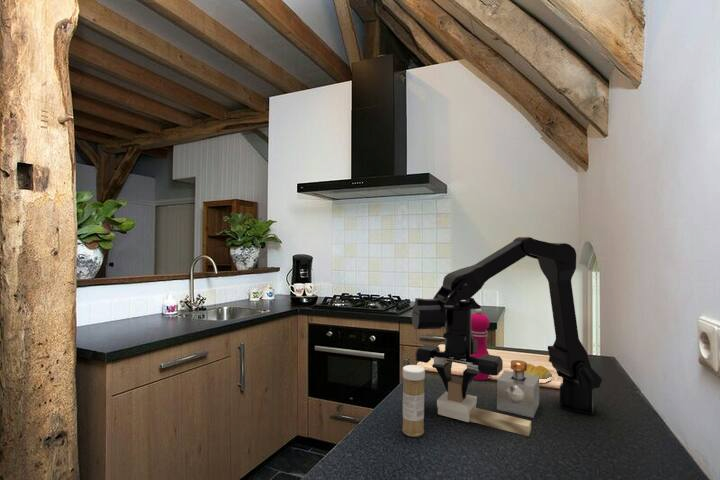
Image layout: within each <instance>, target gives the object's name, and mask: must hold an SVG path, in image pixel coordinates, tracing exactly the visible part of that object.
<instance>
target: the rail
mask: <svg viewBox="0 0 720 480" xmlns="http://www.w3.org/2000/svg"><path fill="white" fill-rule="evenodd" d="M469 422H471V423H475V424H480V425H482V426H483V425H484V426H487V427H490V428H495V429H498V430H502V431H506V432H511V433H515V434H518V435H521V436H525V437H530V434H531V432H532V420H529V419H524V418H520V417H516V416H511V415H508V414H503V413H499V412H494V411H491V410H487V409H484V408H479V407H476V408H475V407H473V408H472V410H471V411H470V421H469Z"/></svg>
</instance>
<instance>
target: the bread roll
mask: <svg viewBox="0 0 720 480" xmlns="http://www.w3.org/2000/svg"><path fill="white" fill-rule="evenodd" d="M524 374H527V375H533V376H538V377H539V379H547V378H549V377H552V378H553V374H552V373H551V371H550V370H549V369H548V368H546V367H545V366H543V365H536V366H535V365H534V364H532V363H527V370H526V371H524Z"/></svg>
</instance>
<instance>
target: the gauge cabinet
mask: <svg viewBox="0 0 720 480" xmlns="http://www.w3.org/2000/svg"><path fill="white" fill-rule="evenodd" d="M496 381H497V384H496V386H497V387H496V390H497V391H496V410H497V411H501V412H505V413H510V414H514V415H518V416H522V417H523V416H524V417H527V418H531V419H534V418H535V415H536V413H537V411H538V409H539V407H540V383H539V377H538V376H533V375H527V374H524V381H519V380H514V379H513V371H509V370H504V371H503V372H502V373H501V374H500V376H499V377H498V379H497V380H496Z"/></svg>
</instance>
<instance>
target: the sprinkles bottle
mask: <svg viewBox="0 0 720 480" xmlns="http://www.w3.org/2000/svg"><path fill="white" fill-rule="evenodd" d="M425 378H426V369H425V367H423V366H421V365H417V364H408V365H404V366H403V367H402V379H403V380H402V382H403V384H402V385H403V386H402V429H401V430H402V432H403V434H405V436H408V437H413V438H414V437H415V438H416V437H421V436H422V435H424V433H425V428H424V419H425Z"/></svg>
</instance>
